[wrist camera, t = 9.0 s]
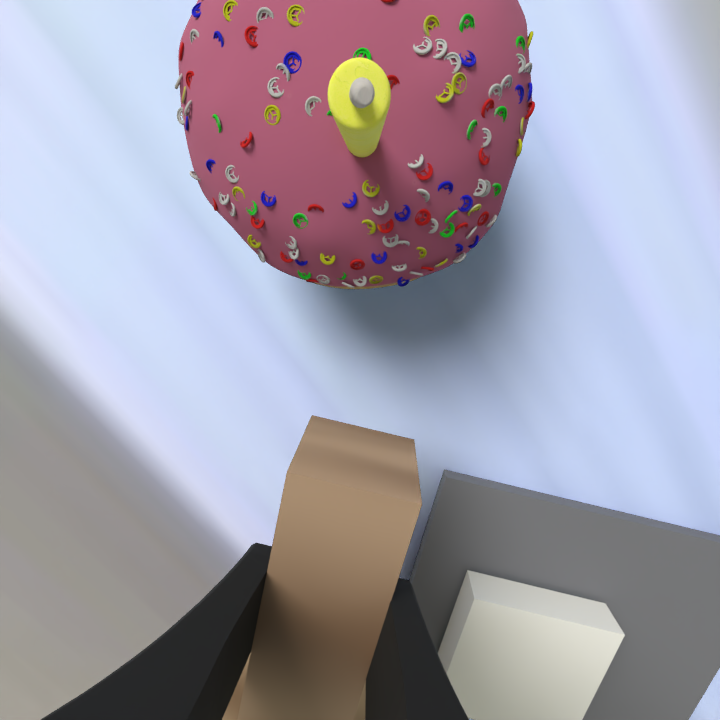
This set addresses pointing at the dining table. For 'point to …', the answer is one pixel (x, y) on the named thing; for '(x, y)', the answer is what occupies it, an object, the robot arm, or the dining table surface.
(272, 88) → the cupcake
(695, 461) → the dining table surface
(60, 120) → the dining table surface
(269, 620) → the overlapping tan boards
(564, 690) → the block
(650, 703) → the mat
